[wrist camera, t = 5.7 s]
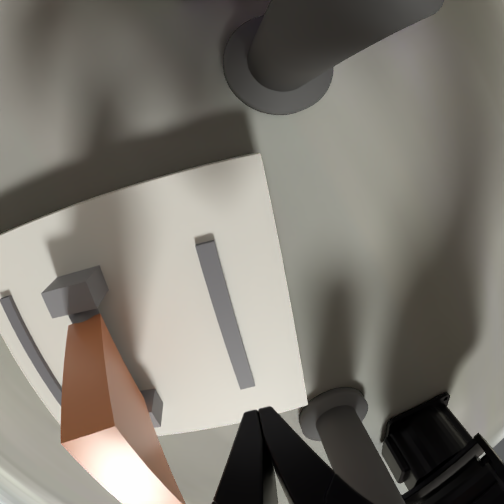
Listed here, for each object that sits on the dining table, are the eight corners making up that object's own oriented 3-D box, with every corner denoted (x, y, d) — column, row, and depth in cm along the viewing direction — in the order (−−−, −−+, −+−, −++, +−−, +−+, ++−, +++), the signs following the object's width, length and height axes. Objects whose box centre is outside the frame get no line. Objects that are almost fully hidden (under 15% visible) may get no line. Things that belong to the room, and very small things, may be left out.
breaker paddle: (97, 297, 13) (109, 417, 6) (141, 388, 15) (191, 513, 8) (67, 308, 12) (54, 435, 5) (115, 398, 14) (152, 526, 7)
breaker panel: (253, 153, 14) (269, 153, 10) (299, 383, 19) (316, 426, 15) (-16, 241, 13) (-55, 263, 9) (79, 421, 18) (67, 459, 14)
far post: (364, 378, 19) (434, 488, 10) (363, 420, 21) (416, 517, 12) (295, 400, 19) (341, 529, 10) (302, 440, 21) (340, 548, 11)
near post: (313, 18, 12) (428, -89, 3) (336, 107, 14) (499, 75, 4) (213, 28, 12) (230, -121, 2) (235, 124, 13) (294, 68, 4)
